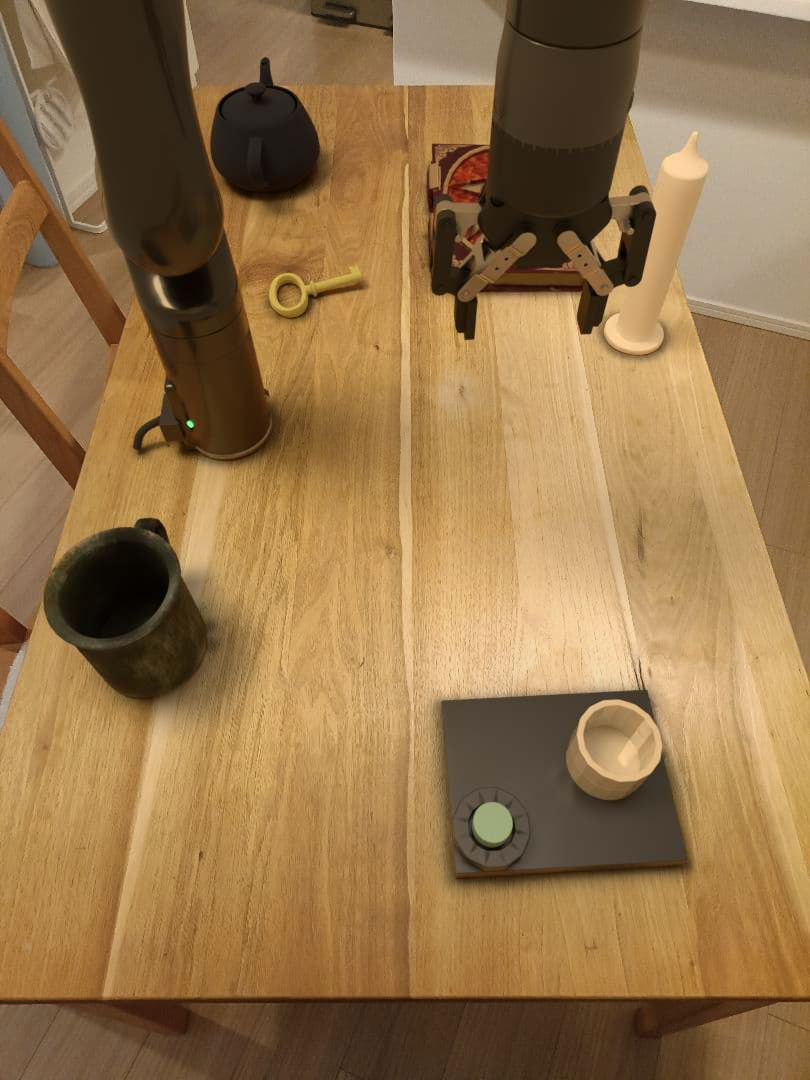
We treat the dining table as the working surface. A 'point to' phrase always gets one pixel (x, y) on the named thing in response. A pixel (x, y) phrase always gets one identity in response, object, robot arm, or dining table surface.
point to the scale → (547, 791)
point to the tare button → (492, 824)
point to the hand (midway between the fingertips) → (525, 329)
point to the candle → (660, 252)
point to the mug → (127, 609)
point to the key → (307, 289)
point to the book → (465, 182)
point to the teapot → (263, 136)
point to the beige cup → (613, 749)
